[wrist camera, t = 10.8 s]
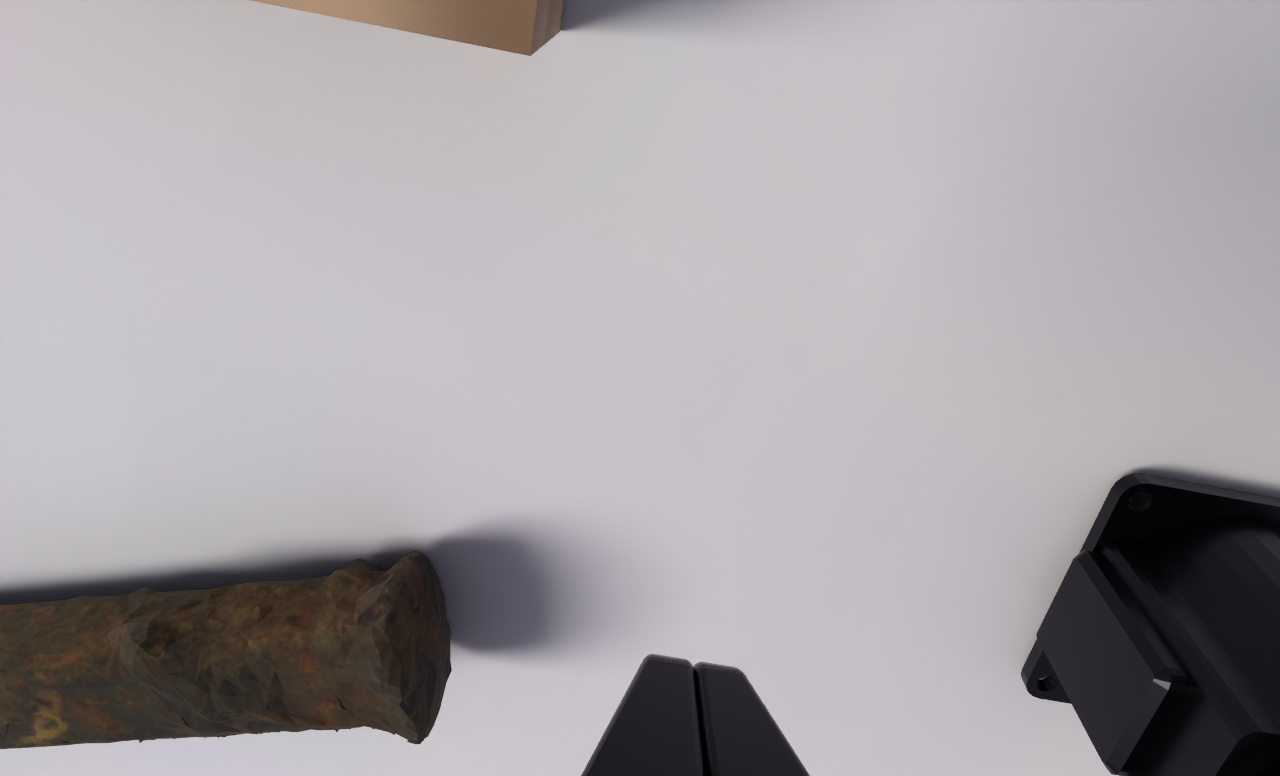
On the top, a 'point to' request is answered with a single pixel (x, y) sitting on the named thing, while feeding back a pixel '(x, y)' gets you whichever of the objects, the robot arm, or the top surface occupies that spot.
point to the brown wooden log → (229, 659)
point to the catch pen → (452, 19)
